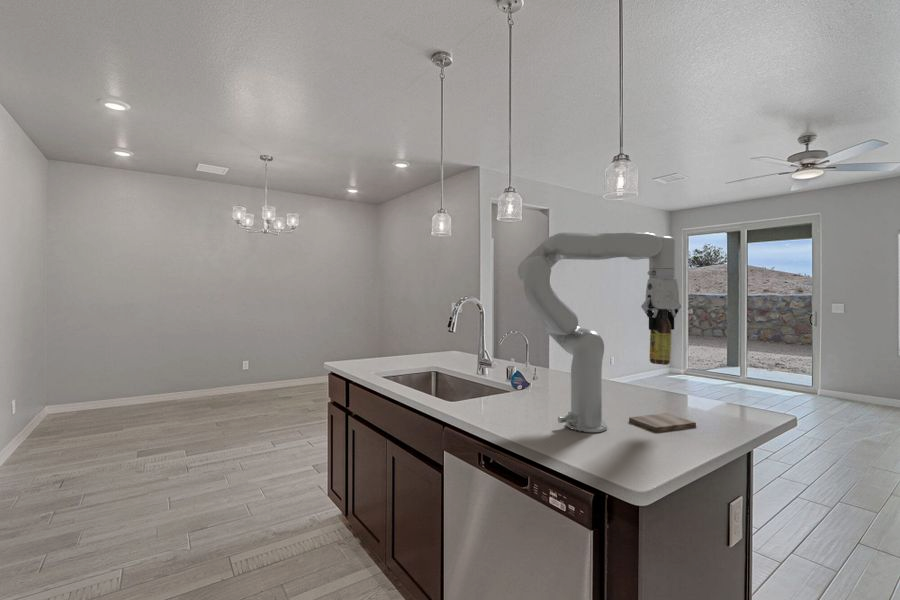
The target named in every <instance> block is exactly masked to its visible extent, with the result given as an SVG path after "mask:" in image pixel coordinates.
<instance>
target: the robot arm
mask: <svg viewBox="0 0 900 600" xmlns="http://www.w3.org/2000/svg"><path fill="white" fill-rule="evenodd" d="M675 247H676V246H675V239H674V237H672V236H668V235H667V236H665V235H664V236H657V235H656V234H655V233H651V232H650V233H649V232H616V233H615V232H612V233H611V232H603V233H599V232H593V233H592V232H589V233H587V232H558V233H556V234H553V235H551V236H549V237H547V238H545V240H544V241H543V242H542V243H540V245H538V246H537V247H536V248H535V249H533V251H531V252H530V254H528V255H527V256H525V258H524V259H523V260H522V261H520V263H519V264H518V267H517V275H518V278H519V279H520V280H521V281H522V282H523V291H524V296H525V298H526V301H527V302H528V304H529V305H530V307H532V309H533V310H534V311H535V312H536V313H537V315H539V316H540V317H539V318H540V320H539V321H540V324H541V326H542V329H543V330H545V332H546V333H547V334H548V335H549V336H550V337H551V338H552V339H553V340H554V341H555V342H556V343H557V344H558V345H559V347H561V348H562V350H564V351H565V352H566V353H568V354H570V355H572V361H571V366H570V411H569V412H567V415H565V416H563V415H562V416H558V417H557V421H558V423H559V424H563V423H565V426H566V425H567V426H568V427H570V428H573V429H575V430H574V431H576V430H579V431H578V432H581V431H584V432H583V433H601V432H604V431H607V429H608V425H607V423H606V422H604V421H603V405H602V403H603V394H602V393H603V390H602V389H603V385H602V384H603V383H602V381H603V379H602V377H603V375H602V373H603V372H602V370H603V369H602V368H603V359H604V353H605V342H604V338H602V336H601V335H600V334H599V333H598V332H597V331H595V330H592V329H589V328H582V327H580V326H579V318H578V316H577V314H576V312H575V311H574V310H573V309H572V308H571V307H570V306H568V305H567V303H566V302H565V301H563V299H562V298H561V297H560V296H559V295H558V294H557V292H555V290H554V289H553V287H552V284H551V274H552V268H553V267H554V266H555V265H556V263H558V262H559V261H561V260H581V261H582V260H587V261H589V260H590V261H599V260H602V261H603V260H611V259H616V258H626V259H627V258H628V259H629V260H632V261H634V260H635V261H636V260H637V261H638V260H644V259H645V260H646V259H648V271H647V275H648V279H647V282H646V290H645V301H644V302H643V303H642V304H641V306H640V307H641V309H642V310H643V311H644V313H645V315H646V317H647V318H648V330H657V329H658V318H656V315H657V312H658V309H668V319H669V321H670V323H671V331H672V330H675V318H676V317H677V314H678V312H679V311H680V309H681V308H682V304H680V294H679V293H680V292H679V291H680V290H679V286H678V281H677V278H675V277H676V276H675V266H676V265H675V261H676V259H675V258H676V257H675V253H676V249H675ZM567 426H566V427H567ZM568 427H567V428H568ZM570 428H569V429H570Z"/></svg>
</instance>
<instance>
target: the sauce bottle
mask: <svg viewBox="0 0 900 600" xmlns="http://www.w3.org/2000/svg"><path fill="white" fill-rule="evenodd" d="M656 318H658V329H657V330H650V335H649V363H651V364H654V365H655V364H656V365H661V366H662V365H663V366H666V365H669V364H670V363H671V353H672V352H671V351H672V350H671V349H672V330H671V323H670V321H669V319H668V309H658V312H657V315H656Z"/></svg>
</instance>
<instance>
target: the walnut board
mask: <svg viewBox="0 0 900 600" xmlns="http://www.w3.org/2000/svg"><path fill="white" fill-rule="evenodd" d="M628 421H629V423H631V424H633V423H634V424H633V425H636V426H638V425H639V426H638V427H641V428H643V429H647V430H649V431H652V432H654V433H661V432H670V431H678V430H685V429H691V428H692V429H693V428H697V422H696V421H694V420H689V419H686V418H683V417H681V416H677V415H674V414H671V413H667V412H665V413H657V414H655V413H654V414H648V415H641V416H640V415H638V416H630V417H628Z"/></svg>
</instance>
